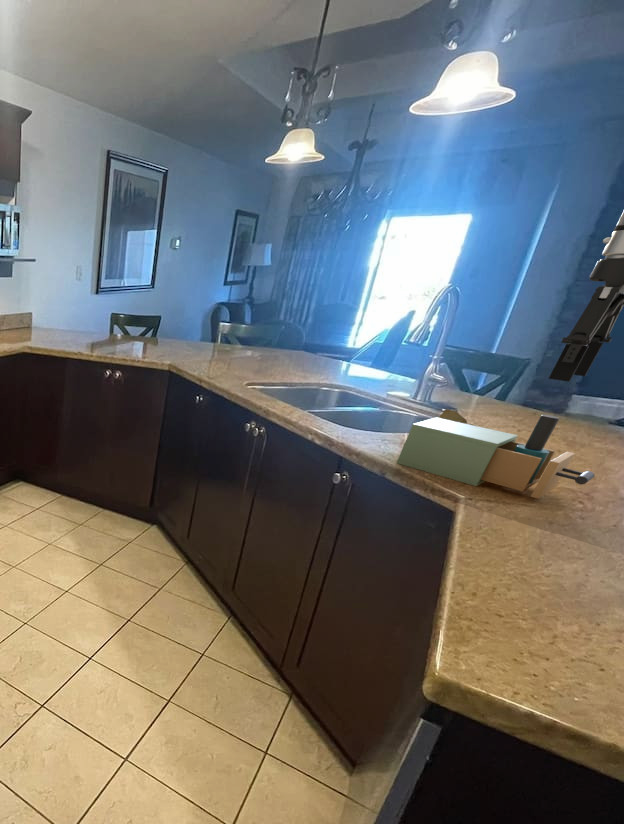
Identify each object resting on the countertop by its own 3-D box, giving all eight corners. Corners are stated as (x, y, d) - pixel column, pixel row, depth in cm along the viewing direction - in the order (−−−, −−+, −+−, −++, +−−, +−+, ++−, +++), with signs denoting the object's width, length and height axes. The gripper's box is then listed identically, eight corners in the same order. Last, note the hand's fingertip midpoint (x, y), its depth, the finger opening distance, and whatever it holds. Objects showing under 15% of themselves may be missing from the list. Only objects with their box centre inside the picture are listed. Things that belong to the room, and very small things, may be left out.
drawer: (584, 495, 101) (606, 460, 98) (569, 507, 95) (591, 470, 92) (473, 465, 115) (489, 433, 112) (453, 474, 109) (469, 441, 106)
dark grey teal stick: (535, 481, 104) (570, 418, 99) (528, 485, 102) (564, 421, 96) (505, 473, 108) (537, 412, 102) (498, 476, 106) (530, 414, 100)
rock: (484, 443, 127) (440, 427, 134) (494, 421, 121) (447, 406, 129) (456, 470, 127) (413, 452, 134) (464, 449, 121) (419, 432, 128)
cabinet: (496, 475, 112) (518, 435, 108) (476, 486, 106) (497, 443, 102) (419, 454, 124) (435, 417, 120) (396, 463, 117) (412, 423, 113)
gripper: (612, 261, 96) (555, 369, 104) (585, 254, 83) (523, 378, 92) (673, 262, 90) (608, 376, 99) (654, 254, 77) (581, 386, 86)
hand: (567, 377), depth 95 cm, fingers open, 13 cm apart
